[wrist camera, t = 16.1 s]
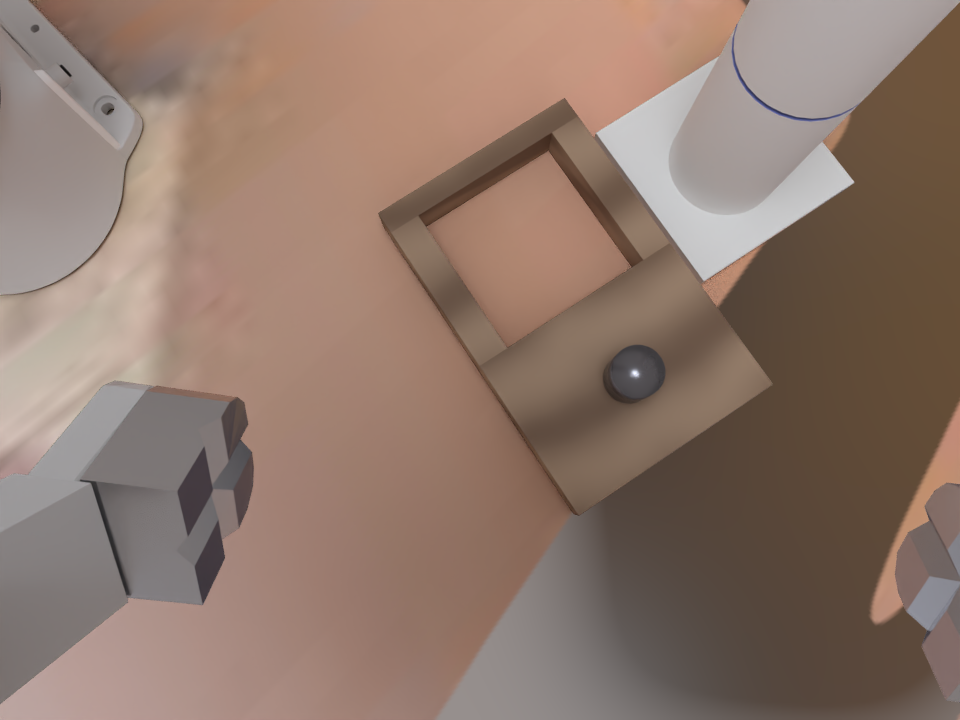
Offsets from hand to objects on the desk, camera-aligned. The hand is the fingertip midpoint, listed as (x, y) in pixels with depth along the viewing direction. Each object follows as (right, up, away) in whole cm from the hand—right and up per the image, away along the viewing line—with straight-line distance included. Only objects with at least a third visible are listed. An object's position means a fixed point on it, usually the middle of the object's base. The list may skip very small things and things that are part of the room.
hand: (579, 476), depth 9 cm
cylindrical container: (+15, +14, +40) cm, 45 cm away
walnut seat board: (+4, +5, +39) cm, 39 cm away
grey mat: (+15, +14, +40) cm, 45 cm away
